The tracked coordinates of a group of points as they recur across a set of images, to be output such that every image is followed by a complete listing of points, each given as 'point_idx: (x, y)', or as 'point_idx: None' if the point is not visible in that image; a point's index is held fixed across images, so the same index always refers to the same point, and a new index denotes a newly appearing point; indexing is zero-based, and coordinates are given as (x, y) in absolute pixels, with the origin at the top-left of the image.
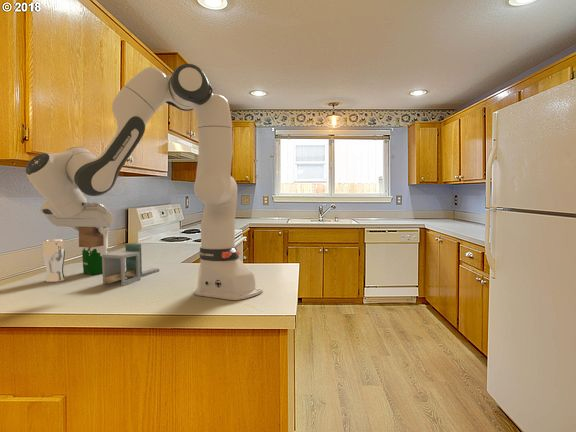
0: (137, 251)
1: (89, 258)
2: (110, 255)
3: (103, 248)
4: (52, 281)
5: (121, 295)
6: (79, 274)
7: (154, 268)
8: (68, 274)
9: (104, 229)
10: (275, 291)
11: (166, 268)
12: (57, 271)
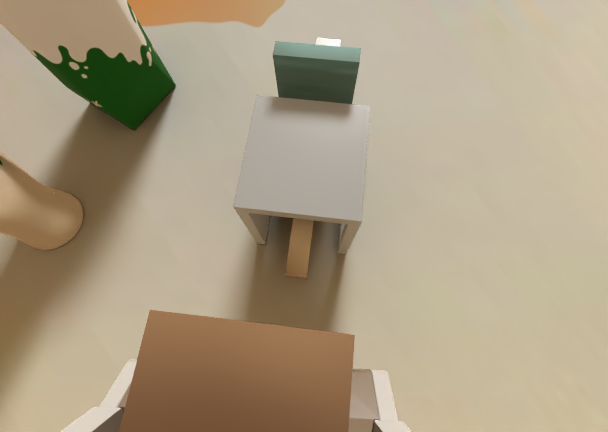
0: (344, 87)
1: (94, 87)
2: (286, 213)
3: (121, 26)
4: (56, 247)
5: (428, 388)
6: (89, 126)
7: (322, 38)
8: (49, 131)
9: (388, 378)
10: None
11: (340, 10)
12: (42, 223)
